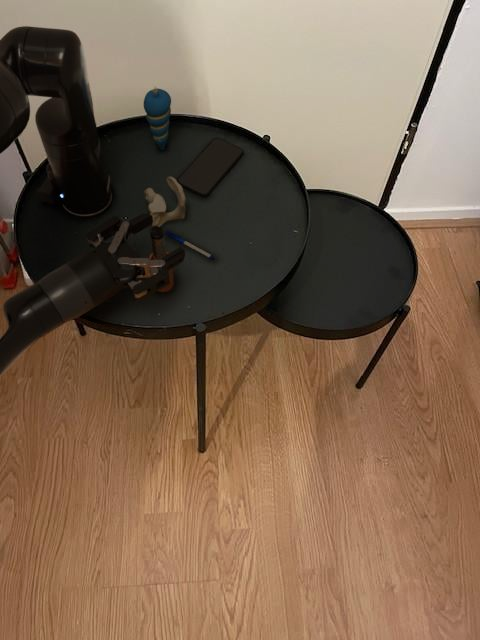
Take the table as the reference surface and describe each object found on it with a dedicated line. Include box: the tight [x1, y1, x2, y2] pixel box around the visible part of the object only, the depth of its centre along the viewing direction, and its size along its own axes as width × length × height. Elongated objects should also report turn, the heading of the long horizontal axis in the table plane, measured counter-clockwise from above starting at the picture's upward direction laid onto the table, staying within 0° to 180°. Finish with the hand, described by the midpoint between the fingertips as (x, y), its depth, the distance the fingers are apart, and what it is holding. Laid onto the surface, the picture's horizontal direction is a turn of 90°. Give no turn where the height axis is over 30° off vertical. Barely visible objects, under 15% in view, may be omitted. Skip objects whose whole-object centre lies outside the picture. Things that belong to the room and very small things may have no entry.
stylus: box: [149, 226, 167, 260], centre depth 90 cm, size 2×2×14 cm
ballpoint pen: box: [165, 230, 215, 260], centre depth 100 cm, size 10×1×1 cm, turn 59°
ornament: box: [143, 87, 172, 151], centre depth 107 cm, size 5×5×15 cm
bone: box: [143, 176, 187, 228], centre depth 101 cm, size 9×6×10 cm
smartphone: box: [176, 137, 245, 198], centre depth 111 cm, size 7×1×15 cm
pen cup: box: [148, 250, 175, 293], centre depth 94 cm, size 4×4×7 cm
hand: (167, 234), depth 87 cm, fingers open, 8 cm apart
